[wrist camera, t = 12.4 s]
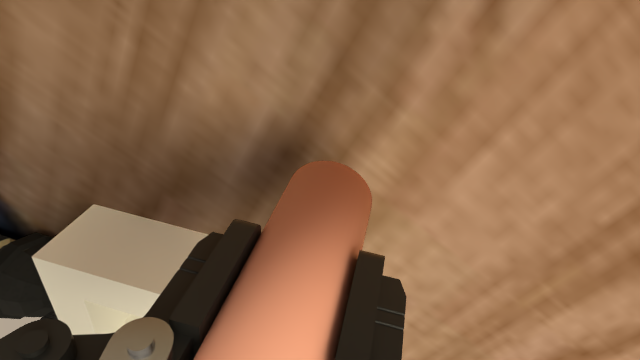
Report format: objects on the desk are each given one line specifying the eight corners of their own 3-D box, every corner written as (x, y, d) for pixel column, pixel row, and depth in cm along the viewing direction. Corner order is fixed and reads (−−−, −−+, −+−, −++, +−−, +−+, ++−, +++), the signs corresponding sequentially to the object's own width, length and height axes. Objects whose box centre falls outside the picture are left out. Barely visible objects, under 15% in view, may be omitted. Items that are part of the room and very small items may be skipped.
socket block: (123, 303, 31) (76, 362, 27) (96, 201, 25) (31, 256, 21) (245, 340, 30) (215, 407, 26) (246, 241, 24) (207, 308, 20)
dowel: (285, 220, 15) (117, 567, 7) (291, 152, 14) (78, 507, 6) (363, 239, 15) (278, 628, 7) (379, 171, 13) (290, 584, 5)
